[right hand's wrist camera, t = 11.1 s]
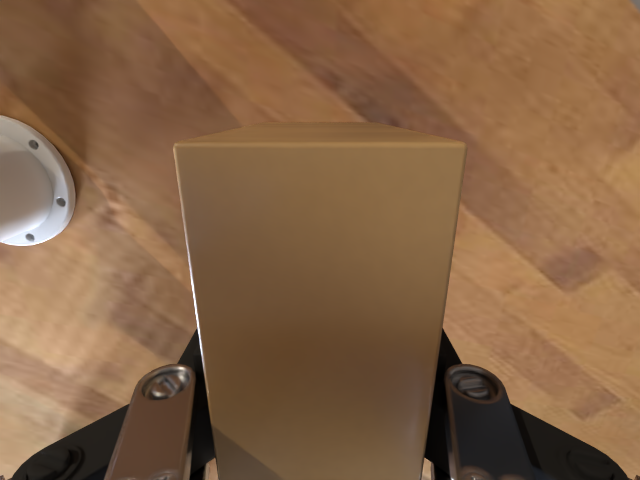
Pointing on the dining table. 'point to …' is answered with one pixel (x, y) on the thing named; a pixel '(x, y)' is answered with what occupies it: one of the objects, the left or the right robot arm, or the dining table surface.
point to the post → (320, 292)
